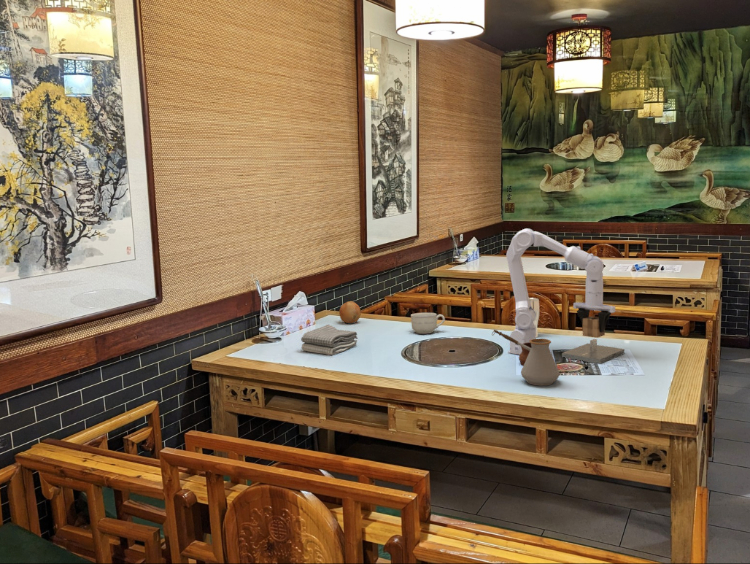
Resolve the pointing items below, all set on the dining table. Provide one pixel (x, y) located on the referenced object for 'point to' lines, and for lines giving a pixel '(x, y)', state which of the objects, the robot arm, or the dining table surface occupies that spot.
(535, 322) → the beer glass
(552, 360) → the coffee pot
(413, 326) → the teacup
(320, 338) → the towel
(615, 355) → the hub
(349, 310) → the onion
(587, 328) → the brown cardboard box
